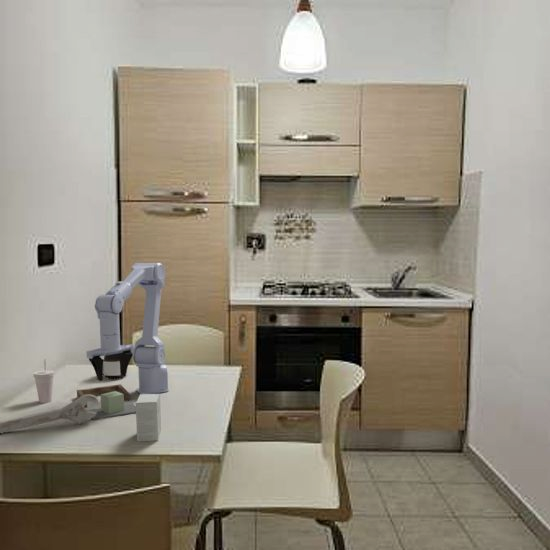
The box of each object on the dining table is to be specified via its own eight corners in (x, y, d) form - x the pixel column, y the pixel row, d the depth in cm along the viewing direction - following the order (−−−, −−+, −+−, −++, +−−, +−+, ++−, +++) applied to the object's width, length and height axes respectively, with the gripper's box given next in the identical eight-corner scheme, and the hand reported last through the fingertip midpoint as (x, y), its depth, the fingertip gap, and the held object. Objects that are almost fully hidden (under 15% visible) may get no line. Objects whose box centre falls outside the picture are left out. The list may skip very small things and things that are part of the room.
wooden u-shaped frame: (120, 391, 200) (120, 384, 199) (129, 400, 189) (128, 392, 189) (77, 397, 193) (76, 390, 193) (83, 407, 182) (82, 399, 182)
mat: (132, 404, 184) (132, 403, 184) (139, 412, 176) (139, 410, 176) (86, 411, 177) (86, 410, 177) (92, 420, 169) (92, 418, 169)
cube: (116, 406, 180) (115, 391, 180) (124, 410, 177) (123, 394, 176) (101, 410, 177) (100, 394, 176) (109, 414, 173) (108, 397, 173)
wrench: (-11, 444, 160) (101, 418, 169) (-12, 446, 158) (101, 420, 167) (-16, 416, 159) (97, 391, 168) (-17, 418, 157) (97, 393, 167)
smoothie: (48, 404, 185) (46, 361, 184) (30, 403, 187) (28, 361, 186) (59, 399, 192) (57, 357, 190) (42, 398, 193) (40, 356, 192)
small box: (140, 431, 159) (139, 393, 158) (161, 430, 160) (160, 393, 159) (136, 442, 151) (135, 402, 150) (158, 441, 152) (156, 401, 151)
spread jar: (122, 380, 214) (121, 349, 214) (92, 380, 215) (90, 349, 214) (130, 372, 226) (129, 343, 226) (102, 372, 227) (100, 343, 226)
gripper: (125, 329, 184) (127, 371, 185) (81, 335, 174) (83, 379, 175) (136, 331, 178) (138, 375, 180) (91, 338, 169) (93, 384, 170)
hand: (111, 377), depth 177 cm, fingers open, 7 cm apart
